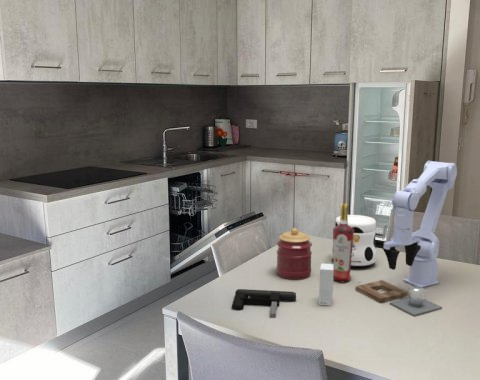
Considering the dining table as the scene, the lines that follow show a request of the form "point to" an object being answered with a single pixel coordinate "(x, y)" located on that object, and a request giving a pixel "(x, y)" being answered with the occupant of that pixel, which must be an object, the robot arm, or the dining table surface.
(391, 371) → the dining table surface
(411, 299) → the end cover
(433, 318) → the dining table surface
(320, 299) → the skincare box
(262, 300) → the door handle
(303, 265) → the canister
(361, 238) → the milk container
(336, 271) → the liquor
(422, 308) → the rubber mat
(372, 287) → the bore plate
